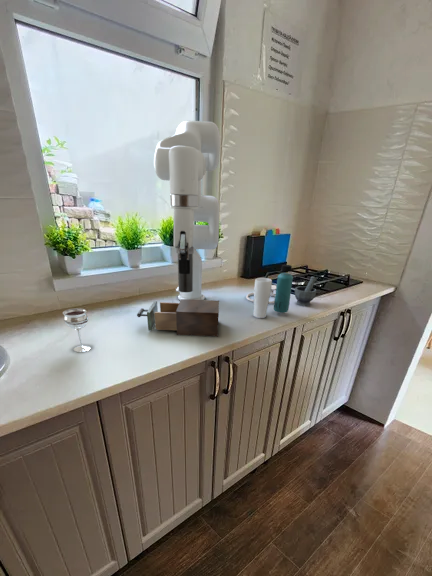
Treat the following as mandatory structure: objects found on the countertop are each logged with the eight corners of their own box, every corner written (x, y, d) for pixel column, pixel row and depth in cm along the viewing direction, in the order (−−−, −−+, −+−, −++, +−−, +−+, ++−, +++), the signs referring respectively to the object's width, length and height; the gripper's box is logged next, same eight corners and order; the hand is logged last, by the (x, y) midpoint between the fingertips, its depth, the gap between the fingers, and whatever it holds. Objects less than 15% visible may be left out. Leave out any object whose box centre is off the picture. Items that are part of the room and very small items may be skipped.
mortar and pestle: (305, 308, 145) (310, 281, 139) (288, 303, 151) (292, 277, 145) (319, 303, 152) (324, 277, 146) (302, 299, 158) (306, 274, 152)
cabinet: (176, 334, 114) (176, 311, 110) (181, 320, 127) (180, 299, 122) (217, 336, 114) (218, 313, 110) (218, 322, 127) (219, 300, 122)
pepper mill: (174, 290, 99) (172, 240, 92) (184, 287, 103) (184, 239, 96) (186, 293, 97) (185, 242, 90) (196, 290, 101) (197, 241, 93)
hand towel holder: (239, 290, 152) (261, 282, 166) (239, 299, 154) (261, 291, 168) (271, 297, 143) (291, 288, 157) (270, 306, 145) (290, 297, 160)
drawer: (135, 330, 114) (133, 311, 111) (143, 317, 126) (142, 300, 122) (186, 332, 114) (185, 313, 111) (189, 319, 126) (189, 302, 122)
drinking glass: (267, 319, 131) (271, 282, 123) (250, 318, 132) (254, 281, 124) (268, 314, 136) (272, 278, 128) (252, 313, 137) (255, 277, 130)
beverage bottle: (288, 312, 140) (296, 264, 129) (286, 317, 134) (294, 267, 124) (274, 310, 141) (280, 262, 131) (271, 315, 136) (277, 265, 126)
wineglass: (70, 345, 103) (61, 309, 97) (92, 343, 106) (85, 307, 100) (71, 354, 98) (62, 316, 92) (94, 351, 101) (87, 314, 94)
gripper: (174, 201, 95) (176, 265, 104) (165, 203, 80) (168, 277, 90) (200, 202, 95) (199, 266, 104) (195, 204, 80) (195, 278, 90)
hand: (185, 271), depth 97 cm, fingers closed on pepper mill, 4 cm apart
